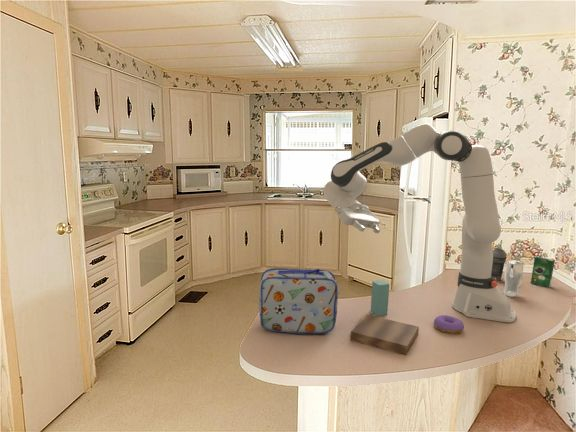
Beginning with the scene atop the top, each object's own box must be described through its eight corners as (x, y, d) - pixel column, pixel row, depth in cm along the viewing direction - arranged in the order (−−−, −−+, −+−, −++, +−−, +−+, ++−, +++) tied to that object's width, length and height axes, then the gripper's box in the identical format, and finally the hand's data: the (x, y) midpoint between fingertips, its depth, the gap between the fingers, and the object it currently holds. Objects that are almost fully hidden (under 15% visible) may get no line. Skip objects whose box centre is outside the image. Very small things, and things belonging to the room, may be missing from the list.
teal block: (380, 309, 156) (382, 280, 154) (387, 314, 152) (389, 283, 150) (370, 311, 155) (372, 281, 153) (377, 315, 151) (379, 285, 149)
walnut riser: (418, 334, 136) (418, 326, 135) (406, 355, 122) (407, 346, 122) (366, 322, 145) (367, 314, 144) (350, 340, 131) (350, 331, 130)
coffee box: (551, 286, 189) (555, 259, 187) (549, 287, 187) (553, 260, 185) (532, 282, 195) (535, 255, 193) (530, 283, 193) (533, 256, 191)
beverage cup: (498, 277, 201) (503, 237, 198) (507, 281, 194) (512, 241, 191) (484, 276, 201) (488, 237, 198) (492, 281, 194) (497, 241, 190)
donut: (428, 328, 141) (431, 314, 141) (438, 325, 148) (440, 312, 148) (458, 337, 134) (460, 323, 134) (466, 334, 141) (468, 320, 141)
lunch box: (336, 323, 143) (339, 263, 140) (340, 336, 133) (344, 272, 130) (259, 322, 143) (260, 262, 139) (257, 335, 133) (258, 271, 129)
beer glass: (522, 298, 172) (526, 264, 170) (504, 297, 173) (508, 263, 171) (516, 293, 179) (520, 260, 177) (499, 291, 180) (503, 259, 178)
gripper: (336, 200, 155) (357, 222, 146) (369, 206, 169) (390, 227, 160) (328, 212, 158) (348, 235, 149) (361, 218, 171) (381, 239, 162)
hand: (370, 231), depth 154 cm, fingers open, 8 cm apart
